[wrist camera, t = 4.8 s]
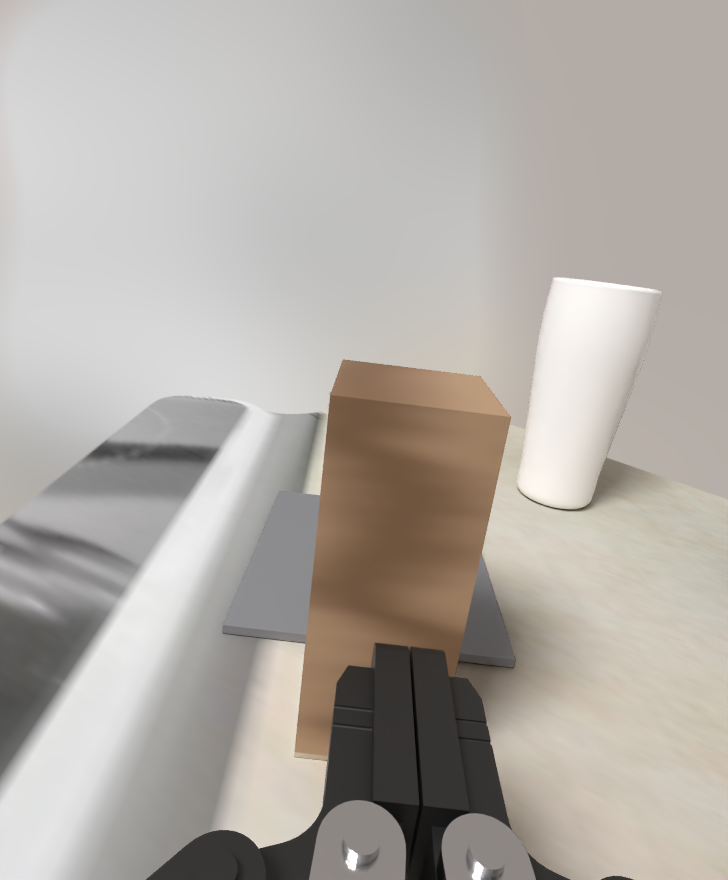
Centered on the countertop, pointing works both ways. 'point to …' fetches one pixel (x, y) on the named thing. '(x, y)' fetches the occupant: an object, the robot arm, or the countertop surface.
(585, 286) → the drinking glass
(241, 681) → the countertop surface
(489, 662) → the mat
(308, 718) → the plain brown block
